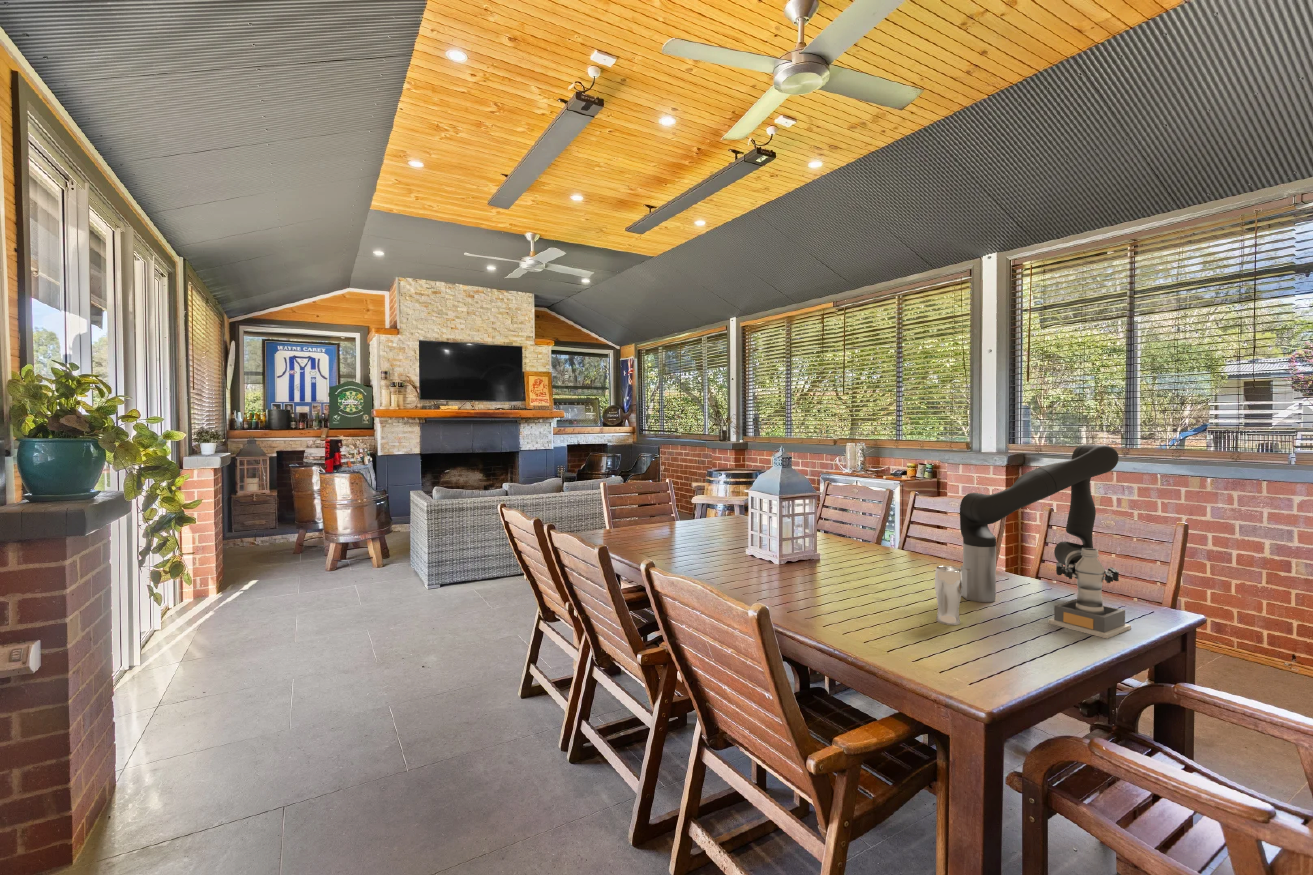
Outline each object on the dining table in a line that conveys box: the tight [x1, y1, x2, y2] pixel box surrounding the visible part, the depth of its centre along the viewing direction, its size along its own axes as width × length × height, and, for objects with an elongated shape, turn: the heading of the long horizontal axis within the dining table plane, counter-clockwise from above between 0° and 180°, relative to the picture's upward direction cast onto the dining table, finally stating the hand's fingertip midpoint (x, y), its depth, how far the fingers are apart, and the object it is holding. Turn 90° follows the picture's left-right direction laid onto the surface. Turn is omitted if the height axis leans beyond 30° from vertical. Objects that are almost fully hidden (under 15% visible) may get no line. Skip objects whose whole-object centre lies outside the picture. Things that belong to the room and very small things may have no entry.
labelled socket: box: [1048, 598, 1132, 639], centre depth 164 cm, size 14×14×5 cm
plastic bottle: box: [1075, 548, 1105, 616], centre depth 164 cm, size 6×7×20 cm
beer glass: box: [934, 565, 963, 626], centre depth 167 cm, size 7×7×15 cm
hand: (1089, 577), depth 163 cm, fingers open, 8 cm apart
